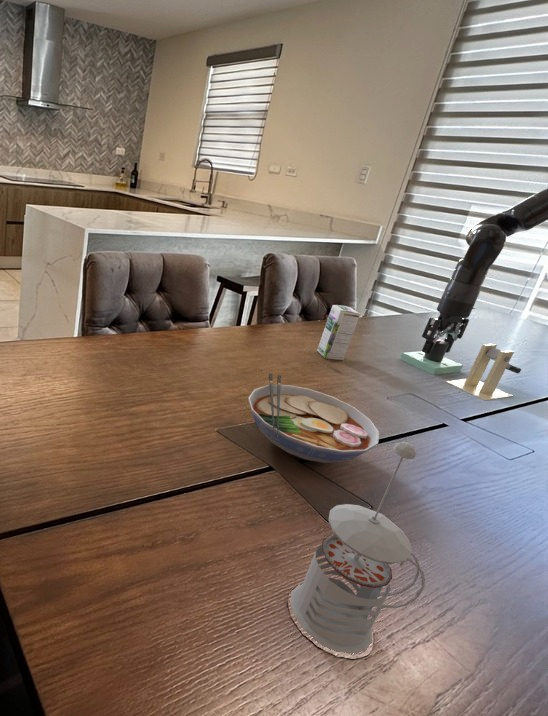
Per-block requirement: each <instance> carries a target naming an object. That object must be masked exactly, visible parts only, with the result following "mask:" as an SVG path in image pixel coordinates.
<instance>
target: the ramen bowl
mask: <svg viewBox="0 0 548 716" xmlns="http://www.w3.org/2000/svg"><path fill="white" fill-rule="evenodd" d="M273 375H274V374H273V373H271V372H269V374H268V383H269V384H267V385H263V386H261V387H257V388H255V389H253V391H252V392H251V393H250V395H249V396H248V403H249V406H250V410H251V414H252V417H253V419H254V422H255V424H256V426H257V427H258V429H259V431H260V432H261V433H262V434H263V435H264V436H265V438H266V439H268V441H269V442H271V443H272V444H273V445H274V446H276V447H278V448H279V449H281V450H283V451H284V452H286V453H287V454H290V455H292V456H295V457H298V458H300V459H303V460H305V461H311V462H316V463H321V464H322V463H323V464H331V463H345V462H347V461H351V460H353V459H355V458H357V457H359V456H362V455H363V454H365V453H366V452H368V451H369V450H371V449H372V448H374V447H375V446H377V445H378V444H379V440H380V431H379V430H378V427H377V426H375V424H374V423H373V421H372V420H371V418H369V417H368V416H367V415H365V413H363V412H361V411H360V410H359V409H357V408H356V407H354V405H352V404H349V403H347V402H345V401H342V400H341V399H339V398H336V397H334V396H332V395H329V394H326V393H323V392H321V391H317V390H314V389H311V388H307V387H301V386H297V385H289V384H282V375H280V374H278V375H277V378H276V379H277V380H276V381H277V384H274V380H273V379H274V377H273Z"/></svg>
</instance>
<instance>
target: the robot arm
mask: <svg viewBox="0 0 548 716" xmlns="http://www.w3.org/2000/svg"><path fill="white" fill-rule="evenodd" d="M547 221H548V187H547V188H545V189H542V190H541V191H538V192H536V193H535V194H533V195H530V196H529V197H528V198H525V199H524V200H522V201H520V202H518V203H516V204H514V205H513V206H512V207H510V208H508V209H506V210H504V211H503V210H502V211H500V212H499V213H495V214H493V215H491V216H489V217H486V218H485V219H483V220H481V221H479V222H477V223H475V224H474V225H472V226H471V227H470V228H468V230H467V232H466V234H465V242H466V243H467V245H468V248H467V251H466V252H465V254H464V257H463V258H461V259H459V260H458V262H457V264H456V265H455V268H454V270H453V272H452V275H451V277H450V279H449V281H448V283H447V284H446V286H445V288H444V291H443V292H442V294H441V295H442V296H441V297H440V300H439V302H438V305H437V307H436V310H437V312H438V313H439V315H438V316H437V318H435V317H432V316H431V317H429V318H428V320H427V323H426V325H425V328H424V330H423V332H422V335H421V337H422V338H423V339H424V340H425V342H424V344H423V346H422V349H421V351H422V352H424V353H426V354H431V352H432V350H433V347H434V345H435V343H436V341H437V340H438V339H440V338H442V337H444V336H445V338H444V339H443V340H444V341H446V342H448V343H449V346H448V348H447V350H446V353H445V354H448V353H450V352H451V350H452V347H453V345H454V343H455V342H456V341H457V340H461V339H462V338H463V336H464V334H465V331H466V329H467V327H468V324H469V322H470V319H469V317H470V315H471V314H472V311H473V309H474V307H475V304H476V302H477V300H478V298H479V296H480V293H481V289H482V286H483V284H484V282H485V280H486V277H487V276H488V273H489V270H490V268H491V267H492V266H493V264H495V261H496V260H497V258H498V257H499V256H500V254H501V253H502V251H503V249H504V247H505V245H506V242H507V238H508V237H511V236H512V235H514V234H517V233H521V232H527V231H529V230H532V229H534V228H537V227H538V226H540V225H542V224H544V223H545V222H547Z"/></svg>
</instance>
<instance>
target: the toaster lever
mask: <svg viewBox="0 0 548 716" xmlns="http://www.w3.org/2000/svg"><path fill="white" fill-rule="evenodd" d="M500 351H502V350H501V349H499V348H497V347H496V348H493V347H491V349H490V350H489V351H488V353H487V354H486V355H487V356H488V357H489V358H490V360H492V361H495V360H496V358H497V356H498V354H499V352H500ZM505 370H507V371H510V372H512V373H515V374H518V375H519V374H520V373H521V371H522V369H521V368H520V367H517V366H514V365H513V364H510V362H509V363H508V365H507V367H506V369H505Z"/></svg>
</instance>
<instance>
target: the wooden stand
mask: <svg viewBox="0 0 548 716" xmlns="http://www.w3.org/2000/svg"><path fill="white" fill-rule="evenodd" d="M497 346H498V345H497V344H494V343H487V344H485V343H484V344H482V346H481V347H480V350H479V351H478V354H477V356H476V358H475V360H474V362H473V363H472V366H471V369H470V371H469V373H468V375H467V377H466V378H461V379H453V380H445V381H444V382H445V383H446V384H449V385H450V386H453V387H455V388H457V389H459V390H461V391H462V392H463V391H464V392H465V393H467V394H470V395H472V396H474V397H476V398H478V399H480V400H481V401H485V402H486V401H493V400H497V399H498V400H499V399H503V398H511V397H513V396H514V395H513V394H510V393H508V392H506V391H503V390H501V389H499V388H497V387H498V385H499V383H500V381H501V379H502V377H503V375H504V373H505V371H506V370H507V369H506V367H507V365H508V363H509V364H510V361H511V360H512V357H513V355H514V353H515V351H513V350H510V349H508V350H501V351H500V352H499V354H498V356H497V358H496V360H494V362H493V364H492V366H491V368H490V370H489V372H488V373H487V376H486V378H485V380H484V382H483V381H481V380H482V377H483V375H484V373H485V371H486V369H487V367H488V365H489V363H490V361H491V359H490V358H489V357H488V356H487V355H486V354H487V353H488V351H489V350H490V349H491V347H493V348H496V349H497Z"/></svg>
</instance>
